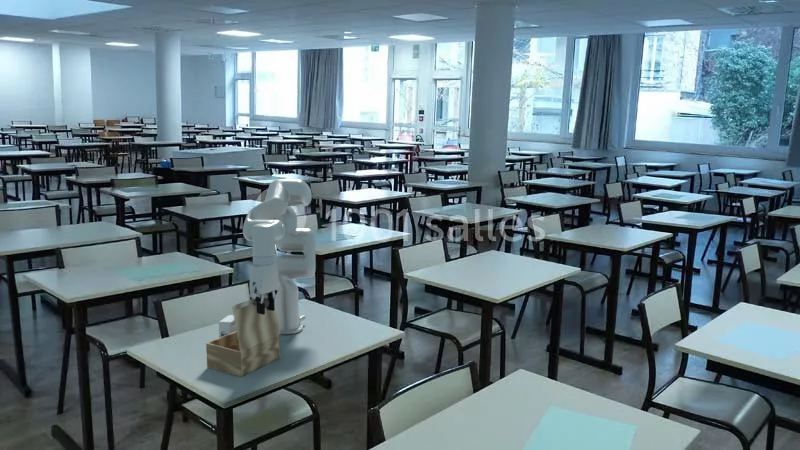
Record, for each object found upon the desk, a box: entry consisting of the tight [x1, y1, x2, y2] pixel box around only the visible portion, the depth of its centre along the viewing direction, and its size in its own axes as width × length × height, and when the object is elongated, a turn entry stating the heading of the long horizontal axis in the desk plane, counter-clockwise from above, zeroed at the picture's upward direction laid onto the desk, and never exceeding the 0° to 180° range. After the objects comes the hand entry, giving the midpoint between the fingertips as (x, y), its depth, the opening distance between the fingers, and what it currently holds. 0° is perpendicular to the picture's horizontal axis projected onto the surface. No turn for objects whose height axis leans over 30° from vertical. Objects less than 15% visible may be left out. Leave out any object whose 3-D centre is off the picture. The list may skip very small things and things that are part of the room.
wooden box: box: [205, 332, 281, 378], centre depth 225 cm, size 20×16×9 cm
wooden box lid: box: [231, 293, 281, 351], centre depth 218 cm, size 20×16×7 cm
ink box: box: [218, 314, 236, 338], centre depth 239 cm, size 9×5×12 cm, turn 168°
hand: (265, 311), depth 216 cm, fingers closed on wooden box lid, 4 cm apart
